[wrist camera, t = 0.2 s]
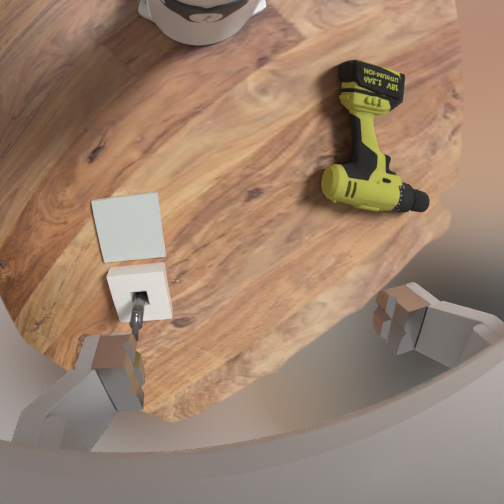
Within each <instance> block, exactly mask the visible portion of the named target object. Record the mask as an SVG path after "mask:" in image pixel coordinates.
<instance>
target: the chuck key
mask: <svg viewBox="0 0 504 504" xmlns="http://www.w3.org/2000/svg"><path fill="white" fill-rule="evenodd" d="M146 294H147V291H139V292H136V293H135V298H134V303H133V308H132V313H131V319H130V327H131V328H132V334H133V335H134V337H135V340H136V342H137V341H138V331H139V329H141V328H142V322H143V315H144V307H145V300H146Z"/></svg>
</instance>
